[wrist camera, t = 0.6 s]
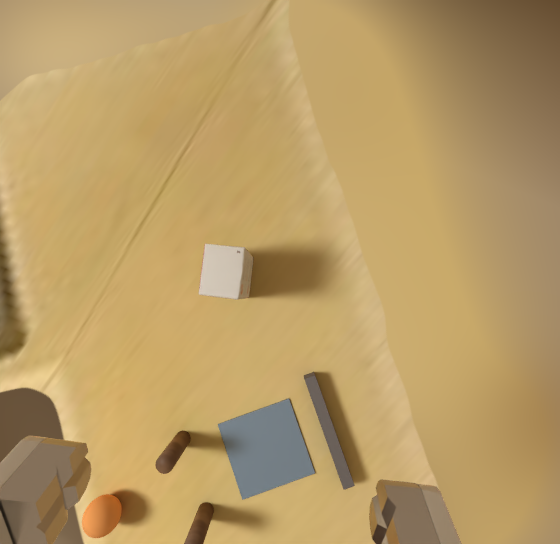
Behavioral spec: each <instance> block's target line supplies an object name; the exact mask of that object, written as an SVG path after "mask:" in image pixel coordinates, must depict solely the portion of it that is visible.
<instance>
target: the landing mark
mask: <svg viewBox="0 0 560 544" xmlns="http://www.w3.org/2000/svg"><path fill="white" fill-rule="evenodd" d="M218 427H219V430H220V433H221V436H222V439H223V442H224V445H225V448H226V451H227V454H228V457H229V460H230V463H231V466H232V469H233V472H234V475H235V478H236V481H237V484H238V487H239V490H240V493H241V496H242V499H246V498H249V497H251V496H254V495H257V494H260V493H262V492H265V491H268V490H271V489H273V488H276V487H279V486H282V485H284V484H287V483H290V482H292V481H295V480H298V479H301V478H303V477H306V476H309V475H312V474H314V473H315V471H314V468H313V466H312V463H311V460H310V457H309V454H308V451H307V448H306V446H305V443H304V440H303V437H302V434H301V431H300V428H299V426H298V423H297V420H296V417H295V414H294V411H293V408H292V406H291V403H290V400H289V399H286V400H283V401H281V402H278V403H275V404H272V405H270V406H267V407H264V408H261V409H259V410H256V411H253V412H250V413H248V414H245V415H242V416H239V417H236V418H234V419H231V420H228V421H225V422H223V423H220V424H218Z"/></svg>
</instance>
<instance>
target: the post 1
mask: <svg viewBox="0 0 560 544" xmlns="http://www.w3.org/2000/svg"><path fill="white" fill-rule="evenodd" d="M189 442H190V435H189V433H188V432H186V431H180V432H178V433H177V435H176V436H175V437H174V438H173V440H172V441H171V442H170V444H169V445H168V446H167V447H166V449H165V450H164V451H163V453H162V454H161V455H160V456H159V458H158V459H157V461H156V468H157V470H158V471H159V472H160V473H163V474H166V473H169V472H170V471H171V470H172V469H173V467H174V465H175V464H176V462H177V461H178V459H179V458H180V456H181V455H182V453H183V452H184V450H185V449H186V447H187V445H188V444H189Z"/></svg>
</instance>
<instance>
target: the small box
mask: <svg viewBox="0 0 560 544" xmlns="http://www.w3.org/2000/svg"><path fill="white" fill-rule="evenodd" d="M252 267H253V256H252V255H251V254H250V253H249V252H248V251H247V250H246V249H245V247H234V246H223V245H213V244H205V247H204V254H203V262H202V270H201V278H200V286H199V295H205V296H213V297H221V298H229V299H244V298H249V293H250V285H251V276H252Z"/></svg>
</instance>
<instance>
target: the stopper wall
mask: <svg viewBox="0 0 560 544" xmlns="http://www.w3.org/2000/svg"><path fill="white" fill-rule="evenodd" d="M304 379H305V382H306V385H307V387H308V390H309V393H310V396H311V399H312V401H313V404H314V407H315V410H316V413H317V416H318V418H319V421H320V424H321V427H322V430H323V432H324V435H325V438H326V441H327V444H328V447H329V449H330V452H331V455H332V458H333V461H334V463H335V466H336V469H337V472H338V475H339V478H340V480H341V483H342V486H343V489H347V488H350V487H353V486H355V485H354V483H353V480H352V477H351V474H350V472H349V469H348V466H347V463H346V460H345V458H344V455H343V452H342V449H341V446H340V444H339V441H338V438H337V435H336V432H335V430H334V427H333V424H332V421H331V418H330V416H329V413H328V410H327V407H326V404H325V402H324V399H323V396H322V393H321V390H320V388H319V385H318V382H317V379H316V377H315V374H314V372H312V373H310V374H307V375H304Z"/></svg>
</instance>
